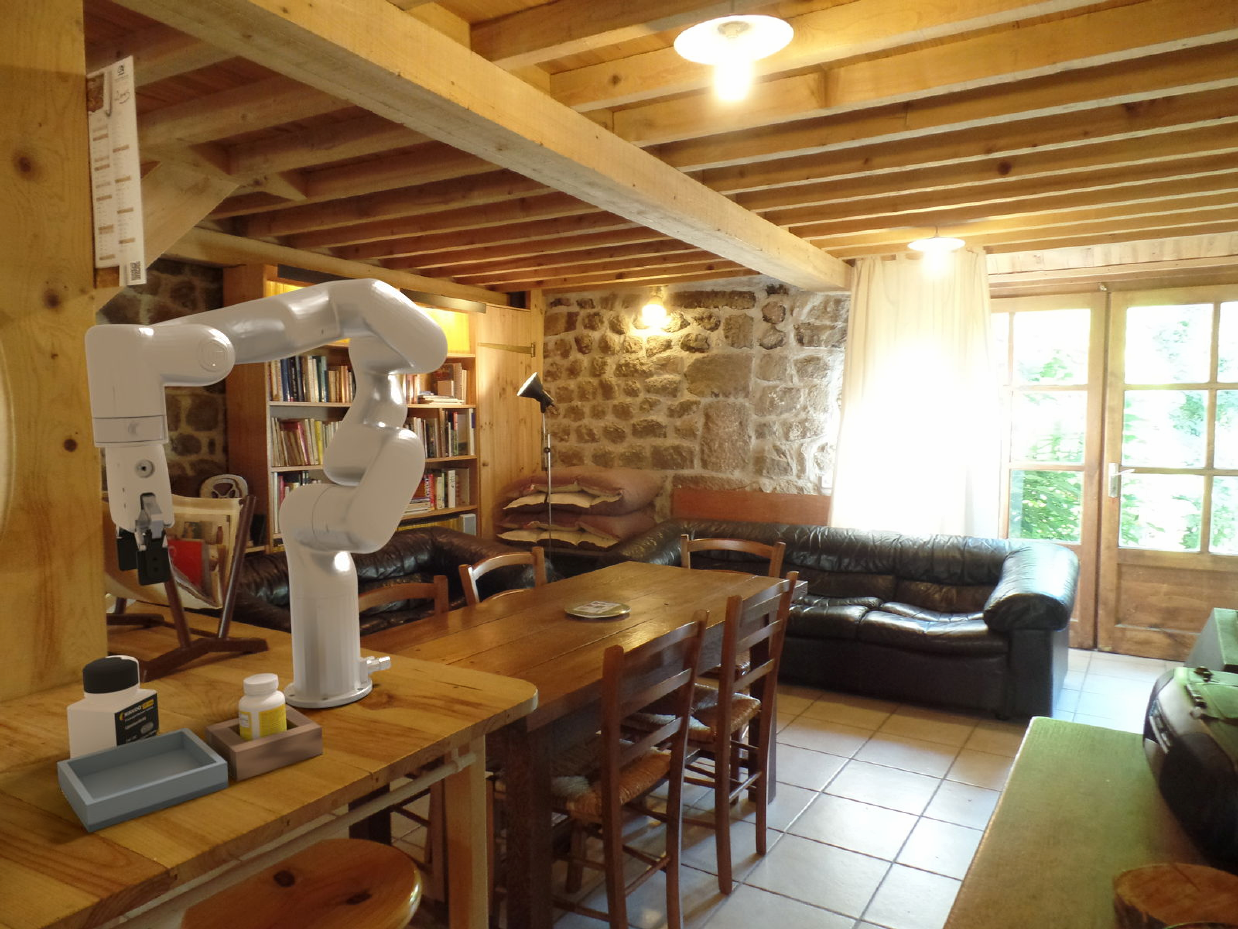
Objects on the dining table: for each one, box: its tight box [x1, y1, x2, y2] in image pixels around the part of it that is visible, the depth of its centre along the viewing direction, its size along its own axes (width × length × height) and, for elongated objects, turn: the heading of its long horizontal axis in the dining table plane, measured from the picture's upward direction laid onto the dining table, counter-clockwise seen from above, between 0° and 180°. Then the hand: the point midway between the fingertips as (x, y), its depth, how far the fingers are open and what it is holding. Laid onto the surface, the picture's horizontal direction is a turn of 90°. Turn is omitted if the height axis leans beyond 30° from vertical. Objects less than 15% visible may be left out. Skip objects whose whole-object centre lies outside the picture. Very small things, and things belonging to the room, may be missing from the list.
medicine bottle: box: [66, 654, 161, 759], centre depth 107 cm, size 7×7×12 cm
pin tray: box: [56, 726, 229, 834], centre depth 98 cm, size 14×14×3 cm
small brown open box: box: [204, 704, 324, 782], centre depth 106 cm, size 10×10×4 cm
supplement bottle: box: [238, 672, 287, 742], centre depth 106 cm, size 5×5×10 cm
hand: (144, 576), depth 100 cm, fingers open, 9 cm apart
